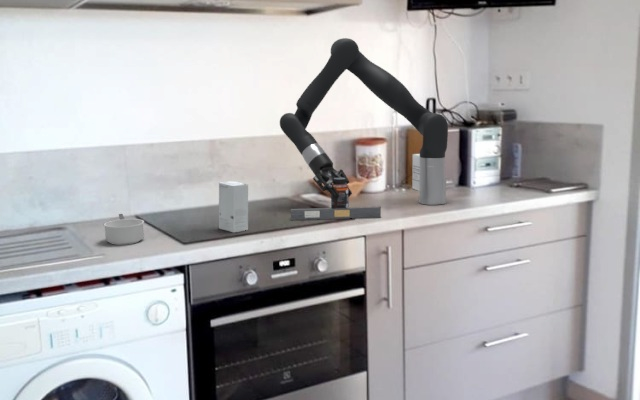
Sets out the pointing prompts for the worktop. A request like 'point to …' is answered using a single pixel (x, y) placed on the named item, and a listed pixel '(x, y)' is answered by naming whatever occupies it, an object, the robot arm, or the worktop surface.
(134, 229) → the saucepan
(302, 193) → the worktop surface
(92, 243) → the worktop surface
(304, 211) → the price rail
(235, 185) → the skincare box
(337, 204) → the supplement bottle
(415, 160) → the supplement box
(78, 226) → the worktop surface
